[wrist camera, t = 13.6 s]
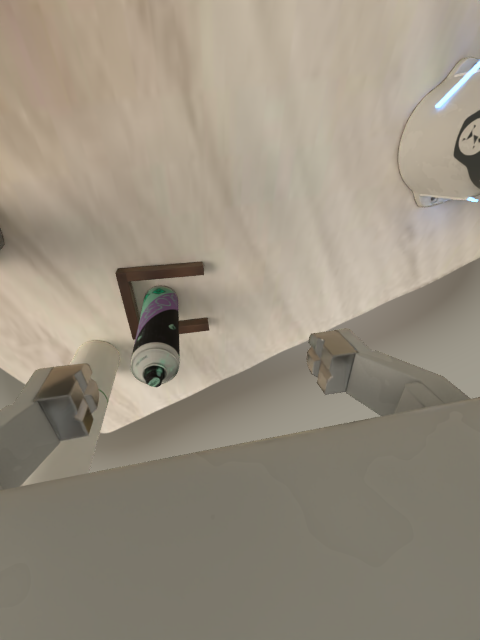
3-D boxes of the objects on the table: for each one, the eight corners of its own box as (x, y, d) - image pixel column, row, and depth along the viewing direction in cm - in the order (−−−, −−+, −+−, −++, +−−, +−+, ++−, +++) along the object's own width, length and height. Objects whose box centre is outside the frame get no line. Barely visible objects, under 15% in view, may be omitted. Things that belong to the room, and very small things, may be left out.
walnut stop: (202, 261, 44) (203, 265, 43) (207, 324, 50) (209, 330, 49) (117, 268, 42) (115, 273, 41) (134, 333, 48) (132, 339, 47)
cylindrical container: (70, 342, 47) (-16, 494, 26) (114, 338, 48) (67, 479, 27) (82, 374, 50) (16, 530, 29) (123, 369, 52) (88, 515, 31)
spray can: (179, 286, 46) (182, 362, 29) (176, 315, 48) (178, 400, 31) (144, 283, 44) (126, 361, 27) (144, 313, 47) (126, 401, 30)
